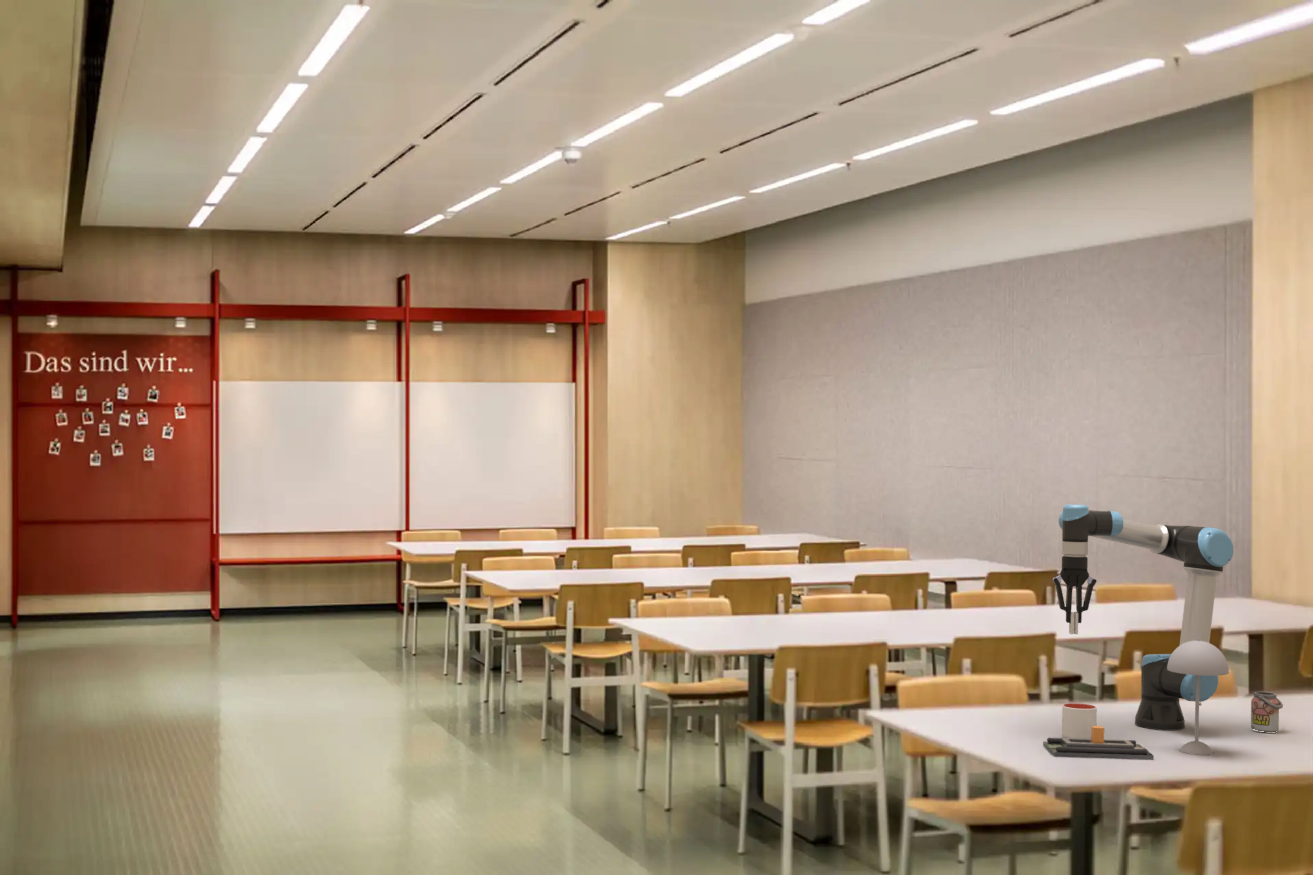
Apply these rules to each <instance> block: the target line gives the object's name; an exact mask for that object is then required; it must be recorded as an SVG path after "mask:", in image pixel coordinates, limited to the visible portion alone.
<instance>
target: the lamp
mask: <svg viewBox="0 0 1313 875" xmlns="http://www.w3.org/2000/svg"><path fill="white" fill-rule="evenodd" d="M1170 654H1171V656H1170V658H1169V661H1168V665H1167V670H1169V671H1171V672H1175V673H1181V674H1189V675H1196V696H1195V701H1194V699H1193V686H1192V699H1191V701H1190V702H1194V703H1195V704H1194V706H1195V710H1194V714H1195V715H1194V740H1192V741H1188V742H1186V743H1184V744H1183V745H1182V746H1181V747H1180V749H1179V751H1180V752H1181V753H1185V754H1189V755H1190V754H1191V755H1198V756H1199V755H1200V756H1206V755H1213V754H1214V751H1213V749H1211V747H1210V746H1209V745H1208V744H1206V743H1205V742H1203V741H1199V738H1200V737H1199V736H1200V735H1199V731H1200V730H1199V729H1200V727H1199V726H1200V725H1199V724H1200V722H1199V721H1200V706H1202V702H1199V680H1200V681H1201V675H1203V676H1218V677H1219V676H1227V675H1229V674H1230V668H1229V664H1228V661H1227V659H1226V656H1225V655H1224V654H1223V652H1222V650H1220V649H1219V648H1218V647H1217V646H1215V645H1213V644H1212V643H1210V642H1209V643H1208V642H1204V641H1200V639H1197V641H1189V642H1186V643H1183V644H1181V645H1180V644H1179V646H1177V647H1176V648H1175V649H1174V651H1173V652H1171V653H1170ZM1192 684H1193V678H1192ZM1200 701H1201V683H1200ZM1212 753H1213V754H1212Z"/></svg>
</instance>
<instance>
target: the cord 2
mask: <svg viewBox="0 0 1313 875" xmlns="http://www.w3.org/2000/svg"><path fill="white" fill-rule="evenodd" d="M1147 750H1148V749H1120V748H1087V747H1056V751H1058V752H1088V753H1121V754H1148V751H1149V750H1148V751H1147Z"/></svg>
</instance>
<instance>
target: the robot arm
mask: <svg viewBox="0 0 1313 875" xmlns="http://www.w3.org/2000/svg"><path fill="white" fill-rule="evenodd" d="M1058 525H1059V527H1060V529H1061V532H1062V533H1061V534H1062V535H1061V536H1062V537H1061V538H1062V540H1061V541H1062V542H1061V543H1062V544H1061V554H1062V557H1061V571H1060V573H1059V575H1057V576H1056V577H1052V578H1051V580H1052V582H1053V584H1054V585H1055V590H1056V595H1057V600H1058V606H1059V609H1060V610H1061V611H1065V622H1066V623H1069V624H1068V633H1069V634H1070V635H1079V624H1081V623H1082V619H1083V617H1082V616H1083V615H1082V614H1083V612H1085V611H1088V610H1089V607H1090V603H1091V599H1092V595H1093V590H1094V588H1095V587H1094V586H1095V585H1096V584H1097V581H1098V580H1097V579H1095V578H1093V577H1091V576H1090V574H1089V572H1088V565H1089V564H1088V563H1089V562H1088V561H1089V559H1088V557H1087V556H1088V553H1089V550H1088V549H1089V544H1088V543H1089V537H1091V538H1097V539H1101V540H1106V541H1111V542H1116V543H1119V544H1125V545H1129V546H1133V547H1138V548H1143V549H1144V548H1145V549H1148V550H1149V551H1150V552H1151V553H1153V554H1156V555H1161V556H1164V557H1166V558H1170V559H1174V560H1175V561H1179V562H1183V569H1184V571H1186V573H1187V579H1186V586H1185V587H1186V588H1185V594H1184V595H1185V596H1184V605H1183V614H1182V620H1181V621H1182V622H1181V631H1180V639H1179V646H1180V645H1181V644H1183V643H1186V642H1189V641H1197V639H1200V641H1204V642H1208V643H1210V639H1211V633H1212V632H1211V631H1212V621H1213V613H1214V604H1215V596H1216V588H1217V579H1218V577H1219V576H1220V575H1222V574H1223V573H1224V567H1225V566H1227V565H1228V564H1229V562H1230V561H1231V560H1232V558H1233V557H1234V556H1233V555H1234V544H1233V541H1232V539H1231V538H1230V536H1229V535H1228V533H1226V532H1225V531H1223V530H1222V529H1221V528H1220V529H1219V528H1214V527H1211V526H1204V527H1203V526H1193V525H1167V524H1162V523H1158V524H1155V525H1151V524H1147V523H1143V522H1138V521H1133V520H1129V519H1125V518H1123V515H1122V514H1121V513H1120V512H1118V511H1114V510H1113V511H1112V510H1091V509H1089V506H1088V505H1087V504H1065V505H1063V508H1062V511H1061V512H1060V513H1059V516H1058ZM1062 581H1063V583H1064V584H1065V585H1066V587H1065V588H1066V593H1065V595H1066V596H1065V597H1066V598H1065V599H1064V594H1063V589H1062V584H1061V583H1062ZM1086 582H1087V586H1086V590H1085V595H1084V599H1083V592H1082V591H1083V585H1084V584H1085V583H1086ZM1074 587H1075V601H1076V603H1075V604H1076V605H1075V606H1076V611H1072V604H1073V603H1072V602H1073V589H1074ZM1171 654H1172V653H1158V654H1157V653H1152V654H1151V653H1150V654H1146V655H1143V657H1142V659H1141V666H1140V669H1141V670H1140V672H1141V674H1140V675H1141V677H1140V678H1141V680H1140V682H1141V684H1140V686H1141V688H1140V692H1141V693H1140V694H1141V695H1140V702H1139V705H1138V708H1137V711H1136V714H1135V717H1134V724H1135V726H1138V727H1141V728H1145V729H1150V730H1151V729H1153V730H1160V731H1161V730H1163V731H1177V730H1182V729H1185V727H1186V724H1185V723H1186V720H1185V717H1184V714H1183V710H1182V707H1181V704H1180V699H1181V700H1186V701H1188V702H1192V701H1191V699H1192V686H1193V699H1194V701H1193V702H1195V696H1196V675H1189V674H1181V673H1175V672H1171V671H1169V670H1167V665H1168V661H1169V658H1170V656H1171ZM1192 678H1193V684H1192ZM1200 683H1201V701H1200ZM1218 686H1219V676H1203V675H1201V681H1200V680H1199V703H1202V702H1205V701H1207V700H1209V699H1210V697H1212V696H1213V695H1214V694H1215V693H1216V691H1217V688H1218Z"/></svg>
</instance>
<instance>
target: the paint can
mask: <svg viewBox="0 0 1313 875" xmlns="http://www.w3.org/2000/svg"><path fill="white" fill-rule="evenodd" d="M1250 703H1251V704H1250V729H1251V730H1252V729H1255V730H1258V731H1264V732H1276V731H1277V732H1278V731H1279V727H1280V726H1279V725H1280V724H1279V722H1280V721H1279V719H1280V715H1279V714H1280V709H1283V706H1284V704H1283V703H1282V701H1281V700H1280V699H1279V698H1277V693H1275V692H1270V691H1254V692H1253V697H1252V698H1251V702H1250ZM1277 732H1276V733H1277Z"/></svg>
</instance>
